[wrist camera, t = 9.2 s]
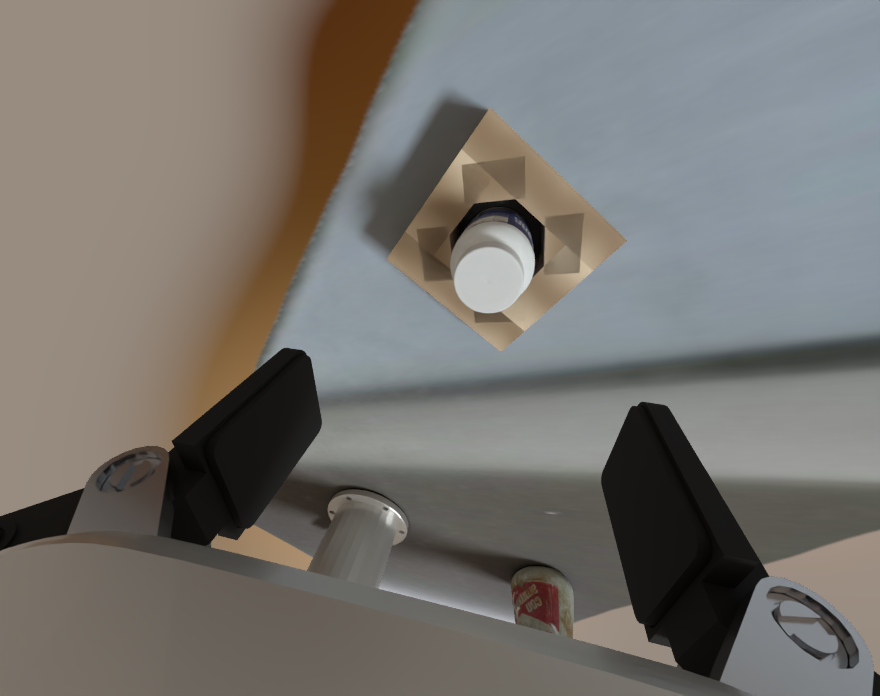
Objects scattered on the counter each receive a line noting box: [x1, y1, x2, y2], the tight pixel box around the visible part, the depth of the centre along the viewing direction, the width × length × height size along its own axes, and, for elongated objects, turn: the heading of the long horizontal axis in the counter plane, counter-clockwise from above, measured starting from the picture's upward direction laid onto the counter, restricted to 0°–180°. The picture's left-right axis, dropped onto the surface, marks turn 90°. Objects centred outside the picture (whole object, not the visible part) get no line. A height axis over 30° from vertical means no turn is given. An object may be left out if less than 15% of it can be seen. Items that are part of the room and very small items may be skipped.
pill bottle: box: [450, 207, 535, 313], centre depth 23 cm, size 5×5×10 cm
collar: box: [387, 108, 627, 352], centre depth 26 cm, size 12×12×4 cm
